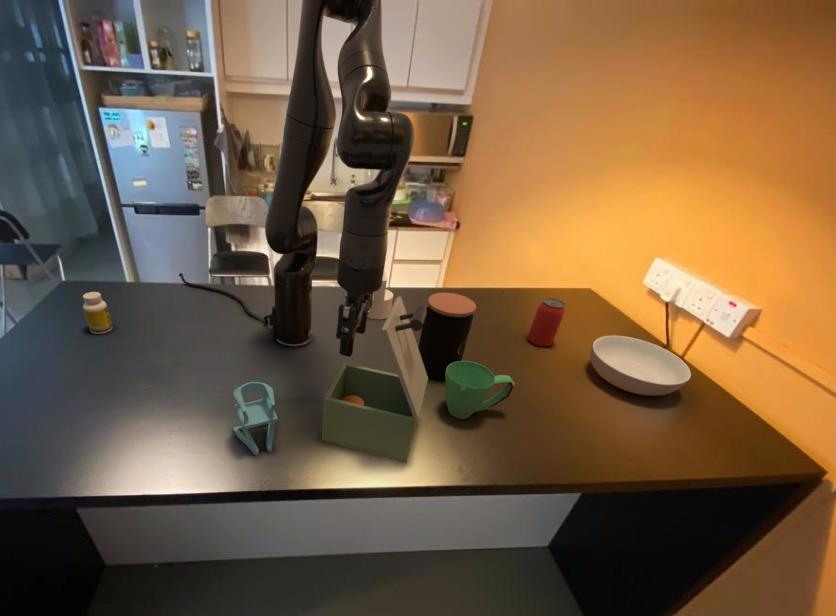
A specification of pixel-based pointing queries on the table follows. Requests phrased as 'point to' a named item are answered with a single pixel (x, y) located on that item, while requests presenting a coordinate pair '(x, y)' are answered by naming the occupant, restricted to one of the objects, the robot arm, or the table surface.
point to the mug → (472, 388)
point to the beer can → (546, 322)
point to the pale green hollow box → (369, 413)
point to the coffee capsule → (353, 399)
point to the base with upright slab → (381, 302)
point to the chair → (255, 414)
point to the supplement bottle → (97, 313)
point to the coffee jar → (445, 332)
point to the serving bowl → (638, 365)
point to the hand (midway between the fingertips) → (352, 343)
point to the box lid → (407, 352)
